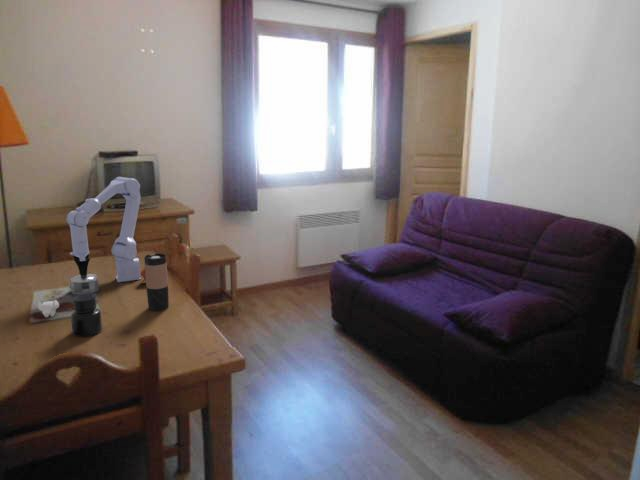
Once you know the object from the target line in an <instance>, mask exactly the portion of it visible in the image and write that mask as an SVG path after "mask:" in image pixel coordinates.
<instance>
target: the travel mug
mask: <svg viewBox="0 0 640 480" xmlns="http://www.w3.org/2000/svg"><path fill="white" fill-rule="evenodd" d="M143 259H144V268H145V274H146V280H145V285H146V295H147V296H146V297H147V304H148V305H147V306H148V309H149V311H152V312H162V311H165V310H168V309H169V304H170V303H169V299H170V298H169V282H168V281H169V280H168V268H167V267H168V266H167V256H166V254H164V253H155V254H152V255H151V254H145V256H144V258H143Z"/></svg>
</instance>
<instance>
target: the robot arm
mask: <svg viewBox="0 0 640 480" xmlns="http://www.w3.org/2000/svg"><path fill="white" fill-rule="evenodd" d="M140 188H141V184H140V183H139V181H138V179H136V178H133V177H124V176H117V177H115V178H114V179H113V180H111V181H110V182H109V185H107V186H106V187H104V189H103V190H102V191H101V192H100V193H99V194H98V195H97V196H96V197H95V198H92V197H91V198H86V199H85V200H84V201H85V202H83V204H81V205H80V206H77V207H76V208H75V210H71V211H69V212H68V214H67V217H66V218H65V221H66V223H67V224H68V225H69V229H70V236H71V245H72V246H71V247H72V251H71V252H69V255H70V256H73V261H74V263H75V264H76V266H77V267H78V271H79V272H80V275H81V276H82V275H87V274H88V266H89V262H90V260H91V258H90V250H89V249H90V248H89V240H88V239H89V238H88V232H87V231H88V230H87V229H88V228H87V225H88V223H89V222H90V219H91V218H92V217H93V216H94V215H96V213H98V212H99V211H100V210H101V208H102V205H103V204H104V203H106V201H108V200H110V199H111V198H112V197H114V196H116V195H117V194H121V195H122V196H123V198H124V199H125V201H126V202H125V206H124V207H125V208H124V213H123V218H122V223H121V228H120V233H119V236H118V237H117V238H116V239H115V241H114V244H113V245H112V246H111V249H110V250H111V254H112V255H113V256H114V258H115V265H116V266H115V267H116V275H115V279H116V282H117V283H123V282H131V281H136V280H137V281H140V280H142V276H141V264H140V260H139V258H138V257H136V256H137V253H138V252H137V242H136V241H135V239H134V235H135V230H136V224H137V220H138V215H139V209H140V204H141V198H142V197H141V191H140ZM79 272H78V273H79Z"/></svg>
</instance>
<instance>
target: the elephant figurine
mask: <svg viewBox="0 0 640 480" xmlns="http://www.w3.org/2000/svg"><path fill="white" fill-rule="evenodd" d="M59 307H60V303H59V301H58V300H57V299H55V300H51V301H44V302H43V303H42V302H41V301H38V304H37V310H39V311H41V312H42V313H41V314H42V315H43V316H44V317H45V318H49V316H50V317H51V318H52V317H55V314H56V311H57V310H58V309H59Z"/></svg>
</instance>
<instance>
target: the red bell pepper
mask: <svg viewBox="0 0 640 480" xmlns="http://www.w3.org/2000/svg"><path fill="white" fill-rule="evenodd" d="M140 275H141V278H143V280H142V281H141V282H139V283H140V284H143V283H144V282H146V274H145V267H144V268H143V269H142V271H140Z"/></svg>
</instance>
